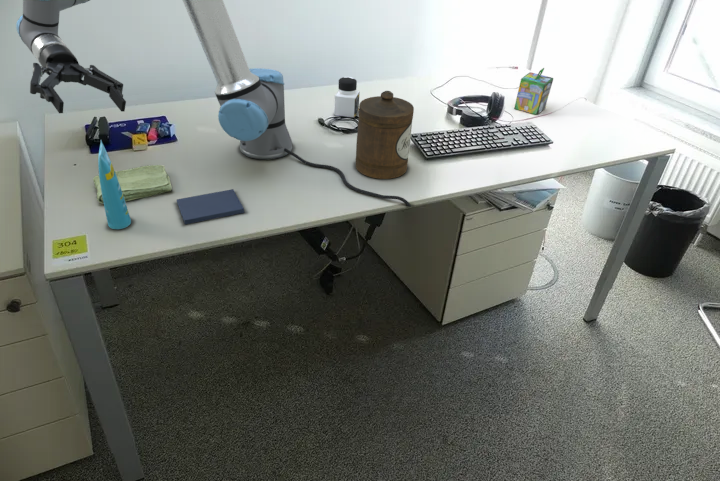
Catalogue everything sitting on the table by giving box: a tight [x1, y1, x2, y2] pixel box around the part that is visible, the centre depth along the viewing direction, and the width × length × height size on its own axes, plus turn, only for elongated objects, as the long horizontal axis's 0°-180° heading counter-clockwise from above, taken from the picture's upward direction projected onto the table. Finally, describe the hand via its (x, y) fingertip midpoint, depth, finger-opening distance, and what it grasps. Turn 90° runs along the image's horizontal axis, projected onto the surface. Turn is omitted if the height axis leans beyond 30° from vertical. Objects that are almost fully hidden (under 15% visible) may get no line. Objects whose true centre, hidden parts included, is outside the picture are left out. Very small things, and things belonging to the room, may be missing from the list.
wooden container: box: [355, 90, 415, 180], centre depth 142 cm, size 15×15×22 cm
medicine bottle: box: [333, 76, 360, 119], centre depth 176 cm, size 7×7×12 cm
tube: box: [97, 140, 132, 230], centre depth 114 cm, size 7×5×19 cm, turn 26°
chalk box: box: [513, 67, 554, 116], centre depth 187 cm, size 9×9×15 cm
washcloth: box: [92, 164, 173, 205], centre depth 131 cm, size 13×18×3 cm
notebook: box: [175, 188, 245, 225], centre depth 126 cm, size 14×10×1 cm
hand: (93, 107), depth 117 cm, fingers open, 13 cm apart
